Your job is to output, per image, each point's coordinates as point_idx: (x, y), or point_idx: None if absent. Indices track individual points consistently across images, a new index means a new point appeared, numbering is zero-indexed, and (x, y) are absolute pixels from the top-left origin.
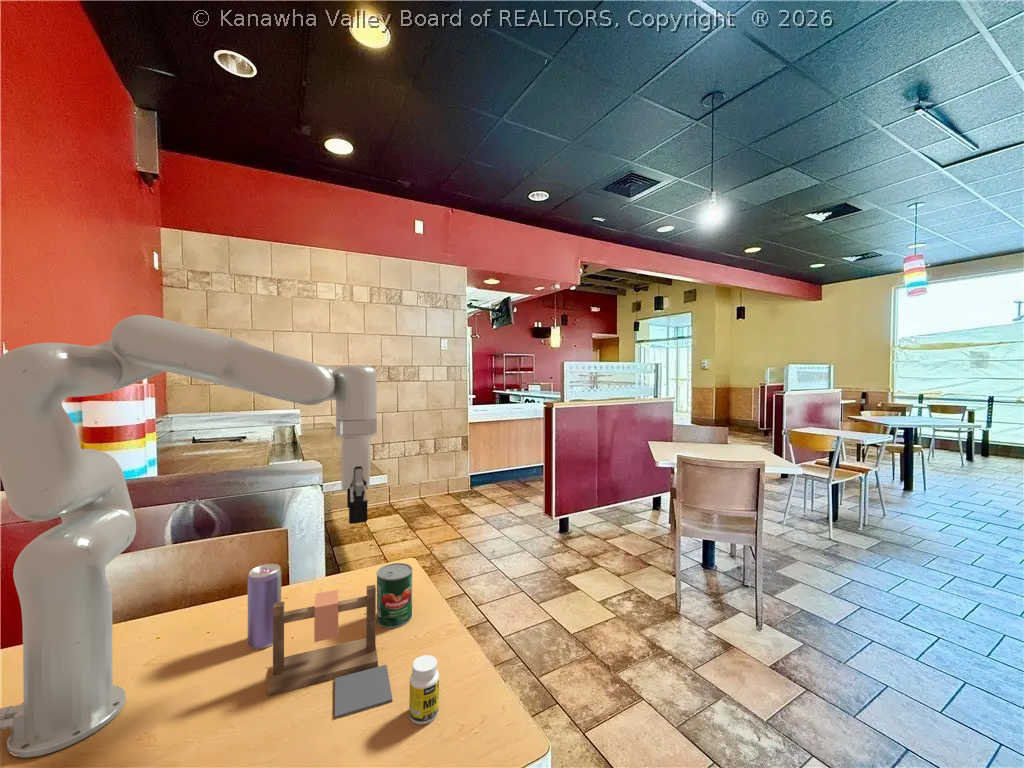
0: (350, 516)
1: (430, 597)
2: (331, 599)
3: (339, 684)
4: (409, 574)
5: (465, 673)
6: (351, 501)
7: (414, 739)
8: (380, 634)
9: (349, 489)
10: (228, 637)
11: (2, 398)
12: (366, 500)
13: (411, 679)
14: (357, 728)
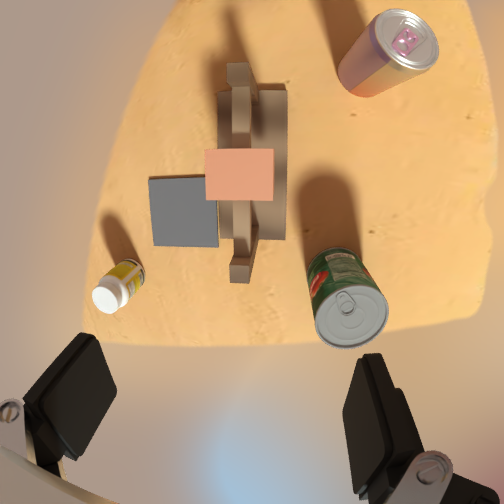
0: (64, 354)
1: None
2: (228, 185)
3: (199, 183)
4: (323, 341)
5: (176, 327)
6: (4, 405)
7: (106, 257)
8: (300, 248)
9: (389, 457)
10: None
11: None
12: (65, 455)
13: (107, 278)
14: (130, 204)
